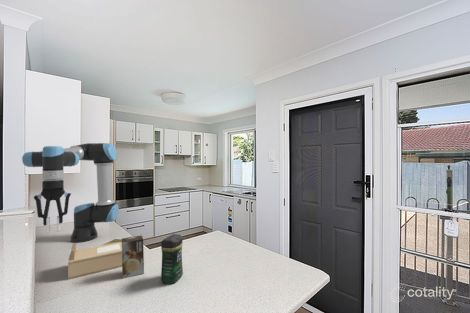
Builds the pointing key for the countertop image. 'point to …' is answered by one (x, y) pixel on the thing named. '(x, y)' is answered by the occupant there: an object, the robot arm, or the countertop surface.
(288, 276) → the countertop surface
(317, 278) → the countertop surface
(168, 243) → the coffee jar
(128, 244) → the coffee box
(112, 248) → the lid
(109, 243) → the carton
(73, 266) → the box
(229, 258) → the countertop surface
